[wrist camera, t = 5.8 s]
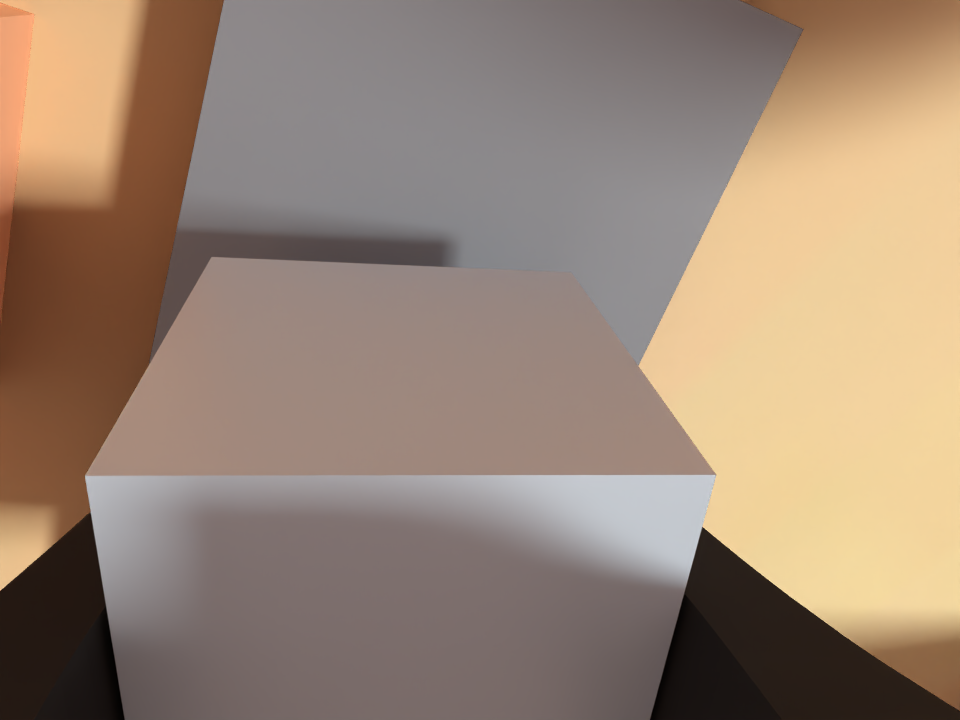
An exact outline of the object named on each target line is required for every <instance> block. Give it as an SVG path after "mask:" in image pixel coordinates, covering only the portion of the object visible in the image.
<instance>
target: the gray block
mask: <svg viewBox="0 0 960 720" xmlns="http://www.w3.org/2000/svg"><path fill="white" fill-rule="evenodd" d="M802 31H803V29H802V28H800V27H797V26H795V25H793V24H791V23H789V22H786V21H784V20H782V19H780V18H778V17H775V16H773V15H771V14H769V13H767V12H764V11H762V10H760V9H758V8H756V7H754V6H751V5H749V4H747V3H745V2H743V1H740V0H224V3H223V7H222V12H221V17H220V22H219V27H218V32H217V36H216V41H215V46H214V51H213V56H212V61H211V65H210V70H209V75H208V80H207V85H206V90H205V95H204V99H203V104H202V109H201V114H200V119H199V124H198V128H197V133H196V138H195V143H194V148H193V153H192V157H191V162H190V167H189V172H188V177H187V182H186V186H185V191H184V196H183V201H182V206H181V211H180V215H179V220H178V225H177V230H176V235H175V240H174V245H173V249H172V254H171V259H170V264H169V269H168V274H167V278H166V283H165V288H164V293H163V298H162V303H161V307H160V312H159V317H158V322H157V327H156V332H155V336H154V341H153V346H152V351H151V356H150V361H149V364H150V363H151V361H152V359H153V357H154V356H155V354H156V352H157V350H158V349H159V347H160V345H161V344H162V342H163V340H164V338H165V337H166V335H167V333H168V331H169V330H170V328H171V326H172V325H173V323H174V321H175V319H176V318H177V316H178V314H179V312H180V311H181V309H182V307H183V306H184V304H185V302H186V300H187V299H188V297H189V295H190V293H191V292H192V290H193V288H194V287H195V285H196V283H197V281H198V280H199V278H200V276H201V274H202V273H203V271H204V269H205V268H206V266H207V264H208V262H209V261H210V259H211V257H224V258H248V259H271V260H294V261H318V262H341V263H364V264H388V265H411V266H435V267H458V268H481V269H505V270H528V271H551V272H571V273H572V274H573V276H574V277H575V279H576V280H577V281H578V283H579V284H580V285H581V287H582V288H583V290H584V291H585V292H586V294H587V295H588V297H589V298H590V299H591V301H592V302H593V304H594V305H595V306H596V308H597V309H598V311H599V312H600V313H601V315H602V316H603V318H604V319H605V320H606V322H607V323H608V325H609V326H610V327H611V329H612V330H613V332H614V333H615V334H616V336H617V337H618V339H619V340H620V341H621V343H622V344H623V345H624V347H625V348H626V350H627V351H628V352H629V354H630V355H631V357H632V358H633V359H634V361H635V362H636V364H637V365H639V363H640V361H641V359H642V357H643V355H644V353H645V351H646V349H647V347H648V345H649V343H650V341H651V339H652V337H653V335H654V333H655V331H656V329H657V327H658V325H659V322H660V320H661V318H662V316H663V314H664V312H665V310H666V308H667V306H668V304H669V302H670V300H671V298H672V296H673V294H674V292H675V290H676V288H677V286H678V284H679V282H680V280H681V278H682V276H683V274H684V272H685V270H686V267H687V265H688V263H689V261H690V259H691V257H692V255H693V253H694V251H695V249H696V247H697V245H698V243H699V241H700V239H701V237H702V235H703V233H704V231H705V229H706V227H707V225H708V223H709V221H710V219H711V217H712V214H713V212H714V210H715V208H716V206H717V204H718V202H719V200H720V198H721V196H722V194H723V192H724V190H725V188H726V186H727V184H728V182H729V180H730V178H731V176H732V174H733V172H734V170H735V168H736V166H737V164H738V162H739V159H740V157H741V155H742V153H743V151H744V149H745V147H746V145H747V143H748V141H749V139H750V137H751V135H752V133H753V131H754V129H755V127H756V125H757V123H758V121H759V119H760V117H761V115H762V113H763V111H764V109H765V107H766V104H767V102H768V100H769V98H770V96H771V94H772V92H773V90H774V88H775V86H776V84H777V82H778V80H779V78H780V76H781V74H782V72H783V70H784V68H785V66H786V64H787V62H788V60H789V58H790V56H791V54H792V51H793V49H794V47H795V45H796V43H797V41H798V39H799V37H800V35H801V33H802ZM148 366H149V365H148Z"/></svg>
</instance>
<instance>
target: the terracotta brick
mask: <svg viewBox="0 0 960 720" xmlns="http://www.w3.org/2000/svg"><path fill="white" fill-rule="evenodd" d="M33 22H34V14H32V13H29V12H26V11H23V10H20V9H17V8H14V7H11V6H8V5H5V4H2V3H0V323H1V314H2V305H3V296H4V287H5V278H6V269H7V259H8V250H9V241H10V232H11V223H12V214H13V205H14V195H15V186H16V177H17V168H18V159H19V150H20V141H21V131H22V122H23V113H24V104H25V95H26V86H27V77H28V67H29V58H30V49H31V40H32V31H33Z"/></svg>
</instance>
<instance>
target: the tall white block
mask: <svg viewBox="0 0 960 720" xmlns="http://www.w3.org/2000/svg"><path fill="white" fill-rule="evenodd" d="M715 478H716V474H715V472H714V471H713V470H712V468H711V467H710V465H709V464H708V463H707V461H706V460H705V459H704V457H703V456H702V454H701V453H700V452H699V450H698V449H697V447H696V446H695V445H694V443H693V442H692V440H691V439H690V438H689V436H688V435H687V433H686V432H685V431H684V429H683V428H682V426H681V425H680V424H679V422H678V421H677V419H676V418H675V417H674V415H673V414H672V412H671V411H670V410H669V408H668V407H667V405H666V404H665V403H664V401H663V400H662V399H661V397H660V396H659V394H658V393H657V392H656V390H655V389H654V387H653V386H652V385H651V383H650V382H649V380H648V379H647V378H646V376H645V375H644V373H643V372H642V371H641V369H640V368H639V366H638V365H637V364H636V362H635V361H634V359H633V358H632V357H631V355H630V354H629V352H628V351H627V350H626V348H625V347H624V345H623V344H622V343H621V341H620V340H619V339H618V337H617V336H616V334H615V333H614V332H613V330H612V329H611V327H610V326H609V325H608V323H607V322H606V320H605V319H604V318H603V316H602V315H601V313H600V312H599V311H598V309H597V308H596V306H595V305H594V304H593V302H592V301H591V299H590V298H589V297H588V295H587V294H586V292H585V291H584V290H583V288H582V287H581V285H580V284H579V283H578V281H577V280H576V279H575V277H574V276H573V274H572V273H571V272H551V271H528V270H505V269H481V268H458V267H435V266H411V265H388V264H364V263H341V262H318V261H294V260H271V259H248V258H224V257H211V259H210V261H209V262H208V264H207V266H206V268H205V269H204V271H203V273H202V274H201V276H200V278H199V280H198V281H197V283H196V285H195V287H194V288H193V290H192V292H191V293H190V295H189V297H188V299H187V300H186V302H185V304H184V306H183V307H182V309H181V311H180V312H179V314H178V316H177V318H176V319H175V321H174V323H173V325H172V326H171V328H170V330H169V331H168V333H167V335H166V337H165V338H164V340H163V342H162V344H161V345H160V347H159V349H158V350H157V352H156V354H155V356H154V357H153V359H152V361H151V363H150V364H149V366H148V368H147V369H146V371H145V373H144V375H143V376H142V378H141V380H140V382H139V383H138V385H137V387H136V388H135V390H134V392H133V394H132V395H131V397H130V399H129V401H128V402H127V404H126V406H125V407H124V409H123V411H122V413H121V414H120V416H119V418H118V420H117V421H116V423H115V425H114V426H113V428H112V430H111V432H110V433H109V435H108V437H107V439H106V440H105V442H104V444H103V445H102V447H101V449H100V451H99V452H98V454H97V456H96V458H95V459H94V461H93V463H92V464H91V466H90V468H89V470H88V471H87V473H86V475H85V480H86V486H87V492H88V498H89V504H90V510H91V516H92V522H93V529H94V535H95V541H96V547H97V553H98V559H99V565H100V571H101V577H102V584H103V590H104V596H105V602H106V608H107V614H108V620H109V626H110V633H111V639H112V645H113V651H114V657H115V663H116V669H117V675H118V681H119V688H120V694H121V700H122V706H123V712H124V718H125V720H650V717H651V714H652V710H653V706H654V703H655V699H656V695H657V692H658V688H659V684H660V681H661V677H662V673H663V669H664V666H665V662H666V658H667V655H668V651H669V647H670V644H671V640H672V636H673V633H674V629H675V625H676V622H677V618H678V614H679V610H680V607H681V603H682V599H683V596H684V592H685V588H686V585H687V581H688V577H689V574H690V570H691V566H692V562H693V559H694V555H695V551H696V548H697V544H698V540H699V537H700V533H701V529H702V526H703V522H704V518H705V514H706V511H707V507H708V503H709V500H710V496H711V492H712V489H713V485H714V481H715Z"/></svg>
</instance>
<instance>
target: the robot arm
mask: <svg viewBox="0 0 960 720" xmlns="http://www.w3.org/2000/svg"><path fill="white" fill-rule="evenodd" d="M0 720H125V718H124V712H123V706H122V700H121V694H120V688H119V681H118V675H117V669H116V663H115V657H114V651H113V645H112V639H111V633H110V626H109V620H108V614H107V608H106V602H105V596H104V590H103V584H102V577H101V571H100V565H99V559H98V553H97V547H96V541H95V535H94V529H93V522H92V516H91V512H90V513H89V514H87V515H86V516H85V517H84V518H83V519H82V520H81V521H80V522H79V523H77V524H76V525H75V526H74V527H73V528H72V529H71V530H70V531H69V532H67V533H66V534H65V535H64V536H63V537H62V538H61V539H60V540H59V541H57V542H56V543H55V544H54V545H53V546H52V547H51V548H49V549H48V550H47V551H46V552H45V553H44V554H42V555H41V556H40V557H39V558H38V559H37V560H35V561H34V562H33V563H32V564H31V565H30V566H29V567H27V568H26V569H25V570H24V571H23V572H22V573H20V574H19V575H18V576H17V577H16V578H15V579H14V580H12V581H11V582H10V583H9V584H8V585H7V586H5V587H4V588H3V589H2V590H1V591H0ZM650 720H960V711H959V710H957V709H955V708H954V707H952V706H950V705H949V704H947V703H946V702H944V701H943V700H941V699H939V698H938V697H936V696H935V695H933V694H932V693H930V692H928V691H927V690H925V689H924V688H922V687H921V686H919V685H917V684H916V683H914V682H913V681H911V680H910V679H908V678H906V677H905V676H903V675H902V674H900V673H899V672H897V671H895V670H894V669H892V668H891V667H889V666H888V665H886V664H884V663H883V662H881V661H880V660H878V659H877V658H875V657H874V656H872V655H871V654H869V653H868V652H866V651H865V650H864V649H862V648H861V647H859V646H858V645H856V644H855V643H853V642H852V641H850V640H849V639H847V638H846V637H845V636H843V635H842V634H840V633H839V632H838V631H836V630H835V629H834V628H832V627H831V626H829V625H828V624H827V623H825V622H824V621H823V620H821V619H820V618H818V617H817V616H816V615H814V614H813V613H812V612H810V611H809V610H807V609H806V608H805V607H803V606H802V605H801V604H799V603H798V602H796V601H795V600H794V599H792V598H791V597H790V596H788V595H787V594H786V593H784V592H783V591H782V590H781V589H779V588H778V587H777V586H775V585H774V584H773V583H771V582H770V581H769V580H767V579H766V578H765V577H764V576H762V575H761V574H760V573H759V572H757V571H756V570H755V569H753V568H752V567H751V566H750V565H748V564H747V563H746V562H745V561H743V560H742V559H741V558H740V557H738V556H737V555H736V554H735V553H733V552H732V551H731V550H730V549H729V548H727V547H726V546H725V545H724V544H722V543H721V542H720V541H719V540H717V539H716V538H715V537H714V536H713V535H711V534H710V533H709V532H708V531H707V530H705V529H704V528H703V527H702V529H701V533H700V537H699V540H698V544H697V548H696V551H695V555H694V559H693V562H692V566H691V570H690V574H689V577H688V581H687V585H686V588H685V592H684V596H683V599H682V603H681V607H680V610H679V614H678V618H677V622H676V625H675V629H674V633H673V636H672V640H671V644H670V647H669V651H668V655H667V658H666V662H665V666H664V669H663V673H662V677H661V681H660V684H659V688H658V692H657V695H656V699H655V703H654V706H653V710H652V714H651V717H650Z"/></svg>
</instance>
